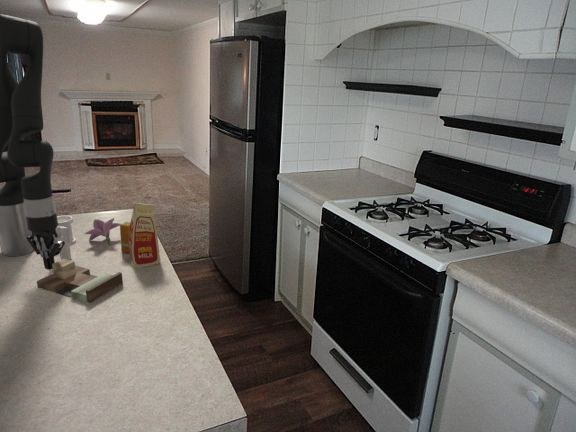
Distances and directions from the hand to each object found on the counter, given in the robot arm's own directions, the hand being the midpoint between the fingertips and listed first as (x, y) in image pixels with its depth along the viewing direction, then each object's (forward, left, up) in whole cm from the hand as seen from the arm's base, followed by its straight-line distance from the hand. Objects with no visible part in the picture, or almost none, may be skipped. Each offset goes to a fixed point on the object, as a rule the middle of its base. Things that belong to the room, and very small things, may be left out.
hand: (50, 268), depth 124 cm
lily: (-8, +28, -3) cm, 29 cm away
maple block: (+6, 0, -1) cm, 6 cm away
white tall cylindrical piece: (-7, +11, -3) cm, 14 cm away
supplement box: (+6, +25, -3) cm, 26 cm away
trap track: (+12, 0, -3) cm, 12 cm away
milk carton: (+16, +22, -3) cm, 28 cm away
